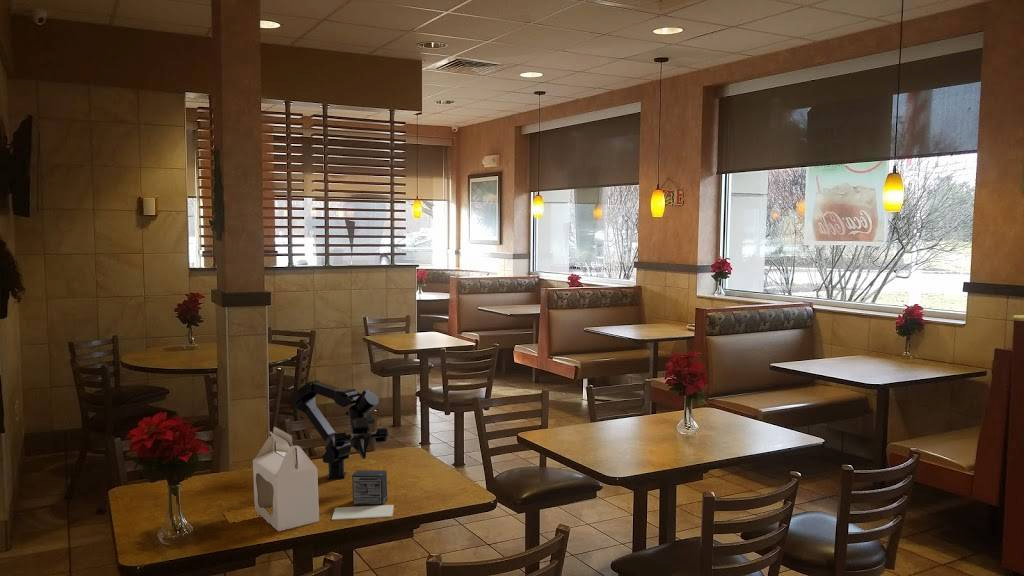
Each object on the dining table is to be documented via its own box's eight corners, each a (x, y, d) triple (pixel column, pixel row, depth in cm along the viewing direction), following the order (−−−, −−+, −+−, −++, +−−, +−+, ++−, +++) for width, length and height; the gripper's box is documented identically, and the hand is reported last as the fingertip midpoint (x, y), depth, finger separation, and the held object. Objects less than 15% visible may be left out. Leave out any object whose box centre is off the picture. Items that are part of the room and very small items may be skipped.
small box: (388, 499, 258) (387, 469, 258) (383, 506, 252) (382, 475, 251) (358, 499, 259) (357, 469, 259) (352, 505, 253) (351, 475, 252)
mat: (335, 509, 250) (335, 507, 250) (393, 505, 252) (393, 504, 252) (331, 520, 240) (331, 519, 240) (392, 517, 242) (392, 515, 242)
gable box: (254, 511, 249) (250, 427, 247) (293, 502, 257) (290, 421, 255) (278, 532, 231) (275, 442, 229) (319, 521, 239) (316, 434, 237)
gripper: (333, 410, 265) (338, 449, 255) (386, 405, 271) (393, 443, 262) (330, 427, 273) (336, 465, 263) (382, 422, 279) (389, 459, 270)
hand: (364, 458), depth 264 cm, fingers closed
